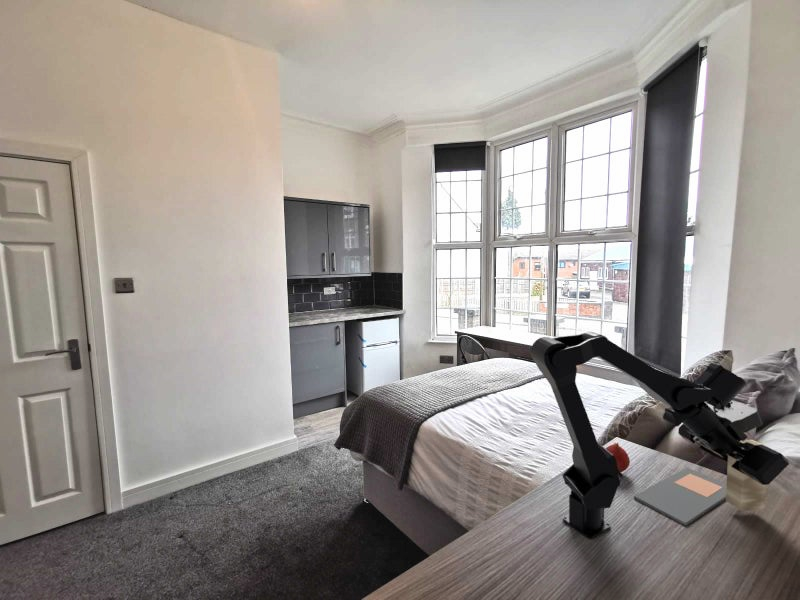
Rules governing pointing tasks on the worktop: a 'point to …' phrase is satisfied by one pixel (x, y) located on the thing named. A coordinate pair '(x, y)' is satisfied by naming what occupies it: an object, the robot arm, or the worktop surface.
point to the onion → (619, 456)
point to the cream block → (744, 487)
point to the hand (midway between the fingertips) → (753, 471)
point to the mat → (684, 495)
